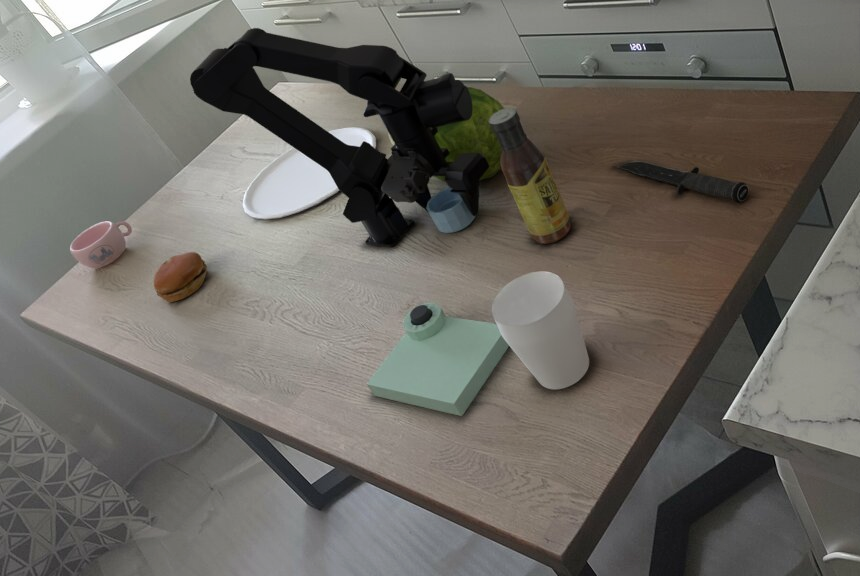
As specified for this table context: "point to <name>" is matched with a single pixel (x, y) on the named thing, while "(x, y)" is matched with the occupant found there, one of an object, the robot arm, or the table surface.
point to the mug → (100, 244)
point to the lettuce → (473, 134)
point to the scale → (440, 362)
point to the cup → (542, 328)
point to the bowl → (449, 211)
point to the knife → (690, 180)
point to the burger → (180, 276)
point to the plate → (296, 180)
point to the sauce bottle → (530, 179)
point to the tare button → (420, 315)
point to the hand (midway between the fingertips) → (453, 213)
